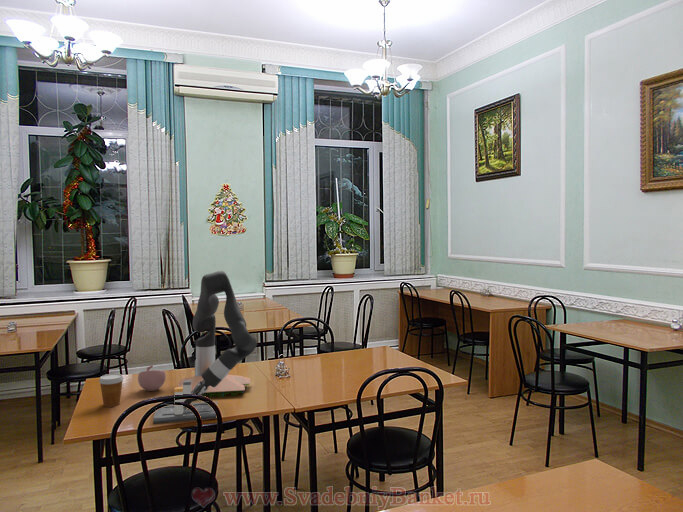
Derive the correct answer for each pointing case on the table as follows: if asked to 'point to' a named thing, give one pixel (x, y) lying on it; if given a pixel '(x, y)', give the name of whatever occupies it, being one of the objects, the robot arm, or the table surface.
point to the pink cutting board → (221, 384)
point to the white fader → (186, 387)
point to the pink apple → (151, 379)
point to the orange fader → (178, 407)
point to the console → (169, 415)
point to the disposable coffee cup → (111, 389)
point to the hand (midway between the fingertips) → (184, 405)
